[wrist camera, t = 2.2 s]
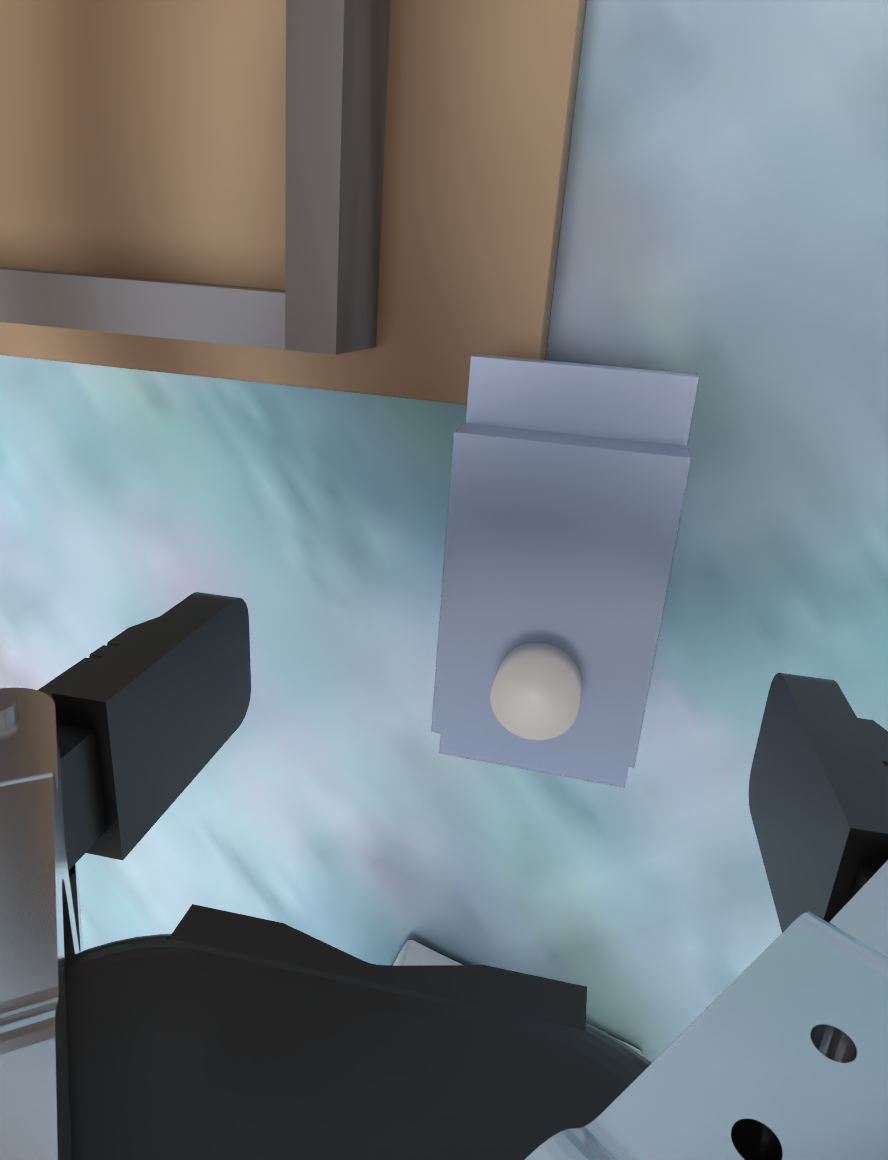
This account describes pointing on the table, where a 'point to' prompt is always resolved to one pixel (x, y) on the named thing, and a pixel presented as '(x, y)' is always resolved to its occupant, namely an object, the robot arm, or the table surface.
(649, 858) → the table surface
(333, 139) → the board
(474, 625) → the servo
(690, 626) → the table surface
